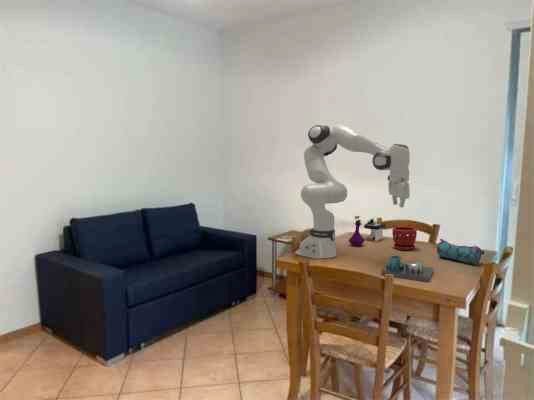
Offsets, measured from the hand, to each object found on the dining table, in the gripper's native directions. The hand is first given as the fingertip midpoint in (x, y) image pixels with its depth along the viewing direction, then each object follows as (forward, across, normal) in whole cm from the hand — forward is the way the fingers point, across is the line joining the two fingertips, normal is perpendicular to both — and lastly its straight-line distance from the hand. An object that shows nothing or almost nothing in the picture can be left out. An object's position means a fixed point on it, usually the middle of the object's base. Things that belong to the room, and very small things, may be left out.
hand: (398, 205), depth 193 cm
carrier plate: (+29, -16, 0) cm, 33 cm away
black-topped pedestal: (+30, +55, -3) cm, 62 cm away
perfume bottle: (+29, +39, +11) cm, 50 cm away
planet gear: (+27, -13, +5) cm, 31 cm away
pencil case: (+29, +5, -33) cm, 45 cm away
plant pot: (+29, +31, -14) cm, 45 cm away
